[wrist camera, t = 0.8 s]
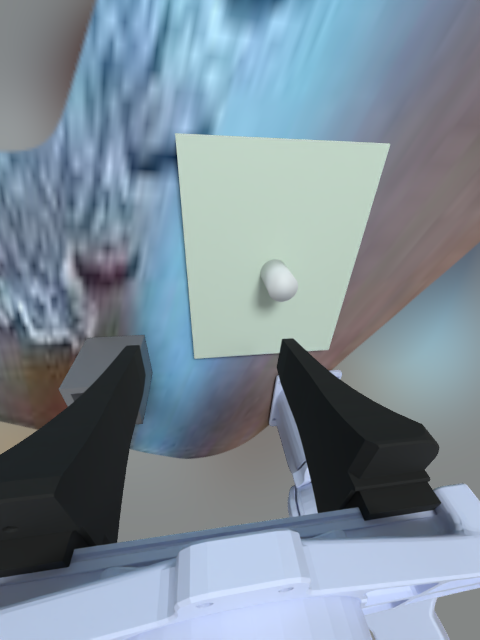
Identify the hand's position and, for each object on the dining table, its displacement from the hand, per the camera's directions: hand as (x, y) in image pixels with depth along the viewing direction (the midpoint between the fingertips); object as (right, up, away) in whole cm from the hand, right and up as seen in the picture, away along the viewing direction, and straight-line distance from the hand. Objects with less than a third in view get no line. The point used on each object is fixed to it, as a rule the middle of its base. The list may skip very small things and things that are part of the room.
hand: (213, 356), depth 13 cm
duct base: (+4, +6, +9) cm, 12 cm away
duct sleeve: (-10, -2, +12) cm, 16 cm away
